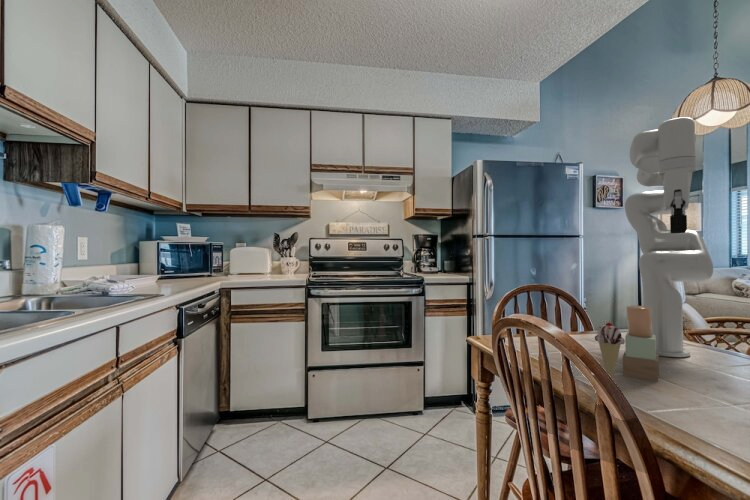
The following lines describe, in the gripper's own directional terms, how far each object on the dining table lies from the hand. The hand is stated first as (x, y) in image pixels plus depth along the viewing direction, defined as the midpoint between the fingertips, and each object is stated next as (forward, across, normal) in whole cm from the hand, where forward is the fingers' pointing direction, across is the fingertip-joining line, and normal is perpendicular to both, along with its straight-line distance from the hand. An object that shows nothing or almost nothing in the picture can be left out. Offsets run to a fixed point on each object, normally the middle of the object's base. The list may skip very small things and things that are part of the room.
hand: (678, 232), depth 96 cm
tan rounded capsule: (+26, +9, -8) cm, 29 cm away
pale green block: (+31, +10, -8) cm, 34 cm away
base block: (+36, +9, -8) cm, 38 cm away
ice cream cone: (+36, +25, -13) cm, 46 cm away
